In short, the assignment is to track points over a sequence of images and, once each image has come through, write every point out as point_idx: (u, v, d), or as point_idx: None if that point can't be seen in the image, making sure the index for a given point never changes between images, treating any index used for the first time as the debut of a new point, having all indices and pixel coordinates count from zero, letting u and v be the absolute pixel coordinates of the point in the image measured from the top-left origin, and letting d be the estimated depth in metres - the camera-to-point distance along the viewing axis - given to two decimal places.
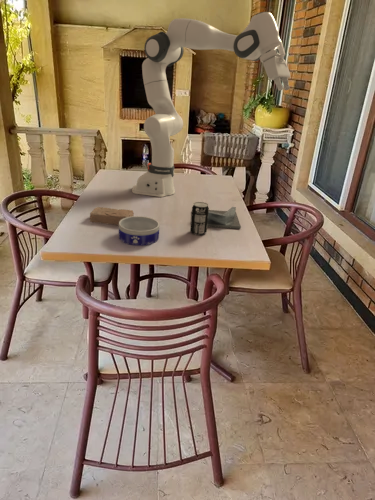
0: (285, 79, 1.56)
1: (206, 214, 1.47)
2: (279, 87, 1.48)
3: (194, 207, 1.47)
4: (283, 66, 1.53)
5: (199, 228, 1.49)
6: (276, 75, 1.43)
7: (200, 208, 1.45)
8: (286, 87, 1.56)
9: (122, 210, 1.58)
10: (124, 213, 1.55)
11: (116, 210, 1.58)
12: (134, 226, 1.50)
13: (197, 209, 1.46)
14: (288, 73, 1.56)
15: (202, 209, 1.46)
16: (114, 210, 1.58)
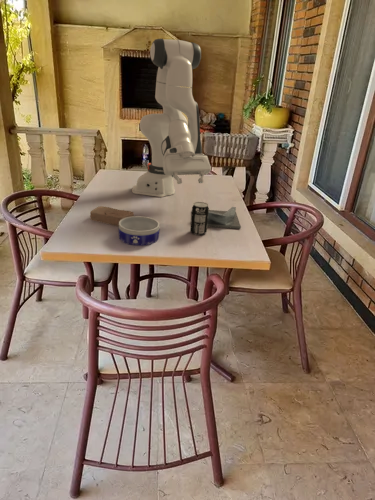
0: (200, 173, 1.58)
1: (206, 214, 1.47)
2: (177, 181, 1.54)
3: (194, 207, 1.47)
4: (195, 162, 1.58)
5: (199, 228, 1.49)
6: (166, 170, 1.53)
7: (200, 208, 1.45)
8: (199, 180, 1.57)
9: (122, 211, 1.57)
10: (122, 214, 1.54)
11: (117, 210, 1.58)
12: (134, 226, 1.50)
13: (197, 209, 1.46)
14: (204, 167, 1.58)
15: (202, 209, 1.46)
16: (115, 210, 1.58)
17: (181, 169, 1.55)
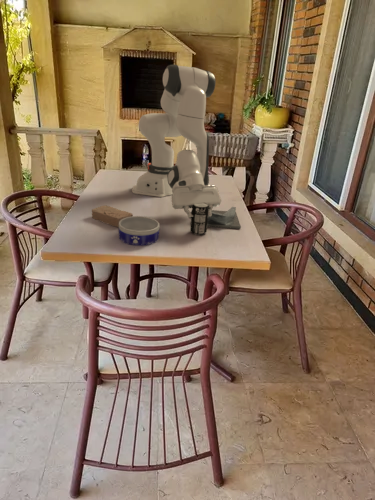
0: (208, 206, 1.52)
1: (206, 214, 1.47)
2: (188, 215, 1.48)
3: (194, 207, 1.47)
4: (205, 194, 1.52)
5: (199, 228, 1.49)
6: (175, 205, 1.46)
7: (200, 208, 1.45)
8: None
9: (122, 212, 1.56)
10: (120, 215, 1.53)
11: (118, 211, 1.57)
12: (134, 226, 1.50)
13: (197, 209, 1.46)
14: (214, 200, 1.52)
15: (202, 209, 1.46)
16: (116, 210, 1.58)
17: (190, 203, 1.48)
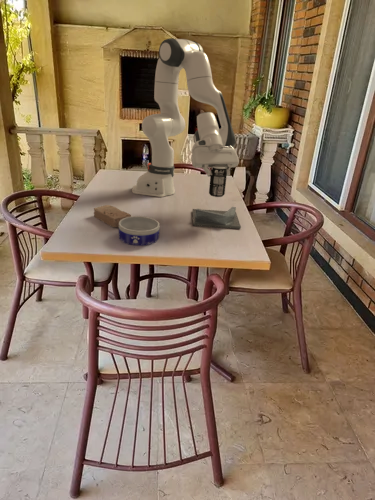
0: (227, 166, 1.57)
1: (224, 176, 1.53)
2: (207, 173, 1.54)
3: (213, 169, 1.53)
4: (223, 154, 1.57)
5: (217, 190, 1.55)
6: (195, 163, 1.52)
7: (219, 170, 1.52)
8: None
9: (122, 212, 1.56)
10: (118, 215, 1.52)
11: (118, 211, 1.57)
12: (134, 226, 1.50)
13: (216, 171, 1.52)
14: (232, 160, 1.57)
15: (221, 170, 1.52)
16: (116, 211, 1.57)
17: (210, 162, 1.54)
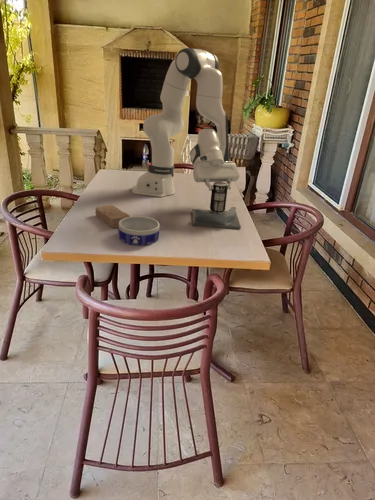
0: (227, 180, 1.62)
1: (225, 193, 1.59)
2: (209, 187, 1.59)
3: (214, 186, 1.58)
4: (224, 169, 1.62)
5: (218, 206, 1.60)
6: (197, 178, 1.57)
7: (220, 187, 1.57)
8: None
9: (122, 213, 1.55)
10: (116, 215, 1.52)
11: (118, 211, 1.57)
12: (134, 226, 1.50)
13: (217, 188, 1.57)
14: (233, 175, 1.62)
15: (222, 187, 1.57)
16: (117, 211, 1.57)
17: (211, 176, 1.59)
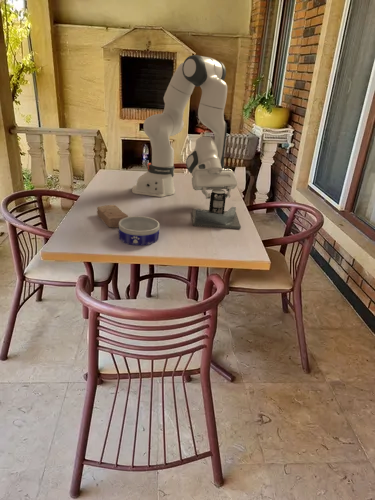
0: (227, 188, 1.65)
1: (224, 200, 1.61)
2: (206, 196, 1.61)
3: (213, 193, 1.60)
4: (222, 177, 1.64)
5: None
6: (196, 186, 1.59)
7: (218, 194, 1.59)
8: (226, 195, 1.64)
9: (121, 213, 1.55)
10: (115, 215, 1.52)
11: (118, 212, 1.57)
12: (134, 226, 1.49)
13: (216, 195, 1.59)
14: (231, 182, 1.64)
15: (220, 195, 1.59)
16: (117, 211, 1.57)
17: (209, 184, 1.61)
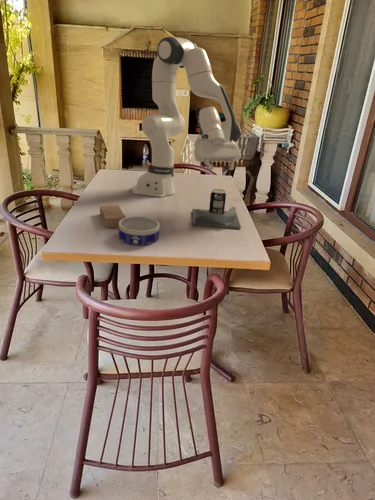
0: (230, 160, 1.59)
1: (224, 200, 1.61)
2: (208, 167, 1.55)
3: (213, 193, 1.60)
4: (226, 148, 1.59)
5: None
6: (198, 157, 1.54)
7: (218, 194, 1.59)
8: (229, 167, 1.58)
9: (120, 213, 1.54)
10: (112, 215, 1.51)
11: (118, 212, 1.56)
12: (134, 226, 1.50)
13: (216, 195, 1.59)
14: (234, 154, 1.59)
15: (220, 195, 1.59)
16: (117, 211, 1.57)
17: (212, 155, 1.55)
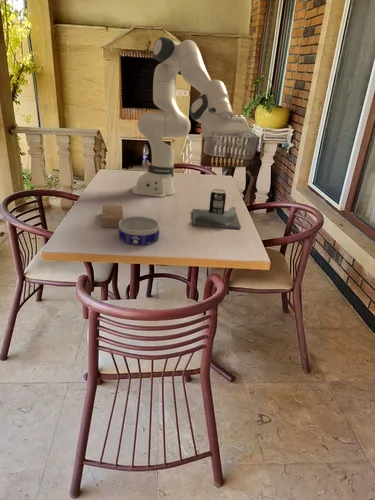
0: (239, 134, 1.53)
1: (224, 200, 1.61)
2: (216, 141, 1.49)
3: (213, 193, 1.60)
4: (234, 123, 1.53)
5: None
6: (206, 131, 1.48)
7: (218, 194, 1.59)
8: (238, 142, 1.52)
9: (119, 214, 1.54)
10: (110, 215, 1.51)
11: (118, 212, 1.56)
12: (134, 226, 1.50)
13: (216, 195, 1.59)
14: (243, 128, 1.53)
15: (220, 195, 1.59)
16: (117, 212, 1.57)
17: (220, 130, 1.49)
